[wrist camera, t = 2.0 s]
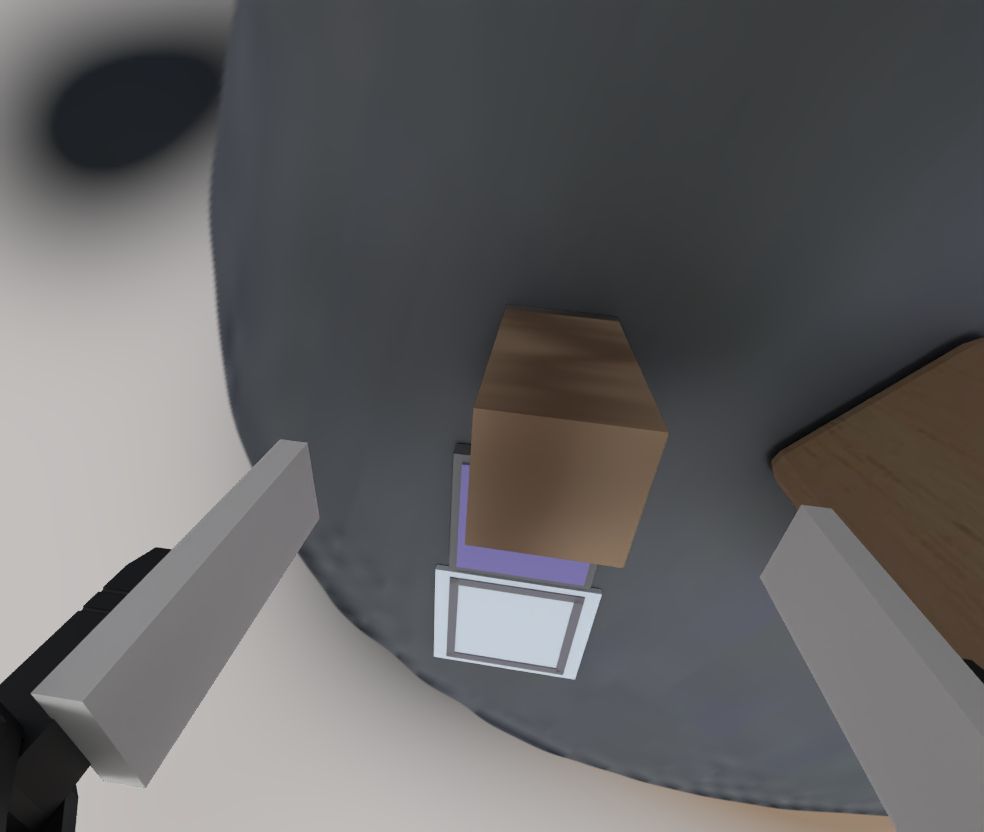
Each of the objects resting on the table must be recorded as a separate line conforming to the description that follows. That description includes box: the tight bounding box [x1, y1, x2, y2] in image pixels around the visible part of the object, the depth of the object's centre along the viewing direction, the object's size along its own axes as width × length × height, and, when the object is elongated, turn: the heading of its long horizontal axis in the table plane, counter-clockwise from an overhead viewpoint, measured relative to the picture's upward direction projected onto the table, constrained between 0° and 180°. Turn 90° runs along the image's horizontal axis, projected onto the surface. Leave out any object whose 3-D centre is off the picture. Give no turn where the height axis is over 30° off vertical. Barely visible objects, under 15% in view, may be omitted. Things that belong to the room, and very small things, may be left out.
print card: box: [434, 565, 602, 680], centre depth 31 cm, size 11×10×1 cm
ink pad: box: [449, 443, 598, 590], centre depth 25 cm, size 9×9×1 cm
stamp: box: [465, 304, 669, 568], centre depth 17 cm, size 5×5×10 cm
